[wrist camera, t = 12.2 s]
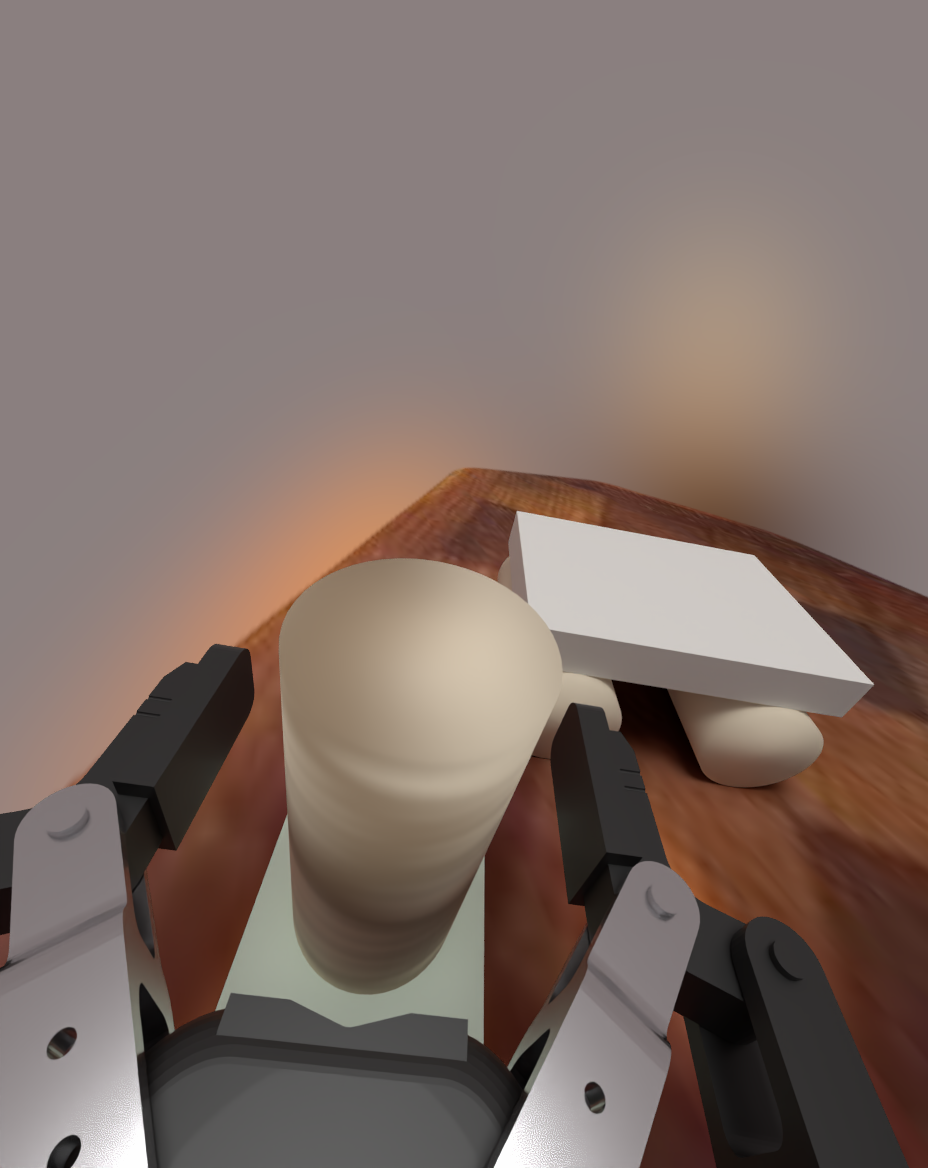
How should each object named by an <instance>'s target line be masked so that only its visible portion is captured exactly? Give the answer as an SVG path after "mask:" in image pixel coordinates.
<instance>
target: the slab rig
mask: <svg viewBox="0 0 928 1168" xmlns="http://www.w3.org/2000/svg"><path fill="white" fill-rule="evenodd" d="M509 555H510V556H509V557H508V558H507V559H506V560H505V561H504V563H503V564H502V566H501V568H500V571H499V574H498V583H500V584H501V585H503V586H505V587H506V588H508V589H509V590H511V591H512V592H514V593H515V594H517V595H518V596H519V597H521V598H522V599H523V600H524V601H525V602H527V603H528V604H529V605H530V606H531V607H532V608H533V609H534V610H535V611H536V612H537V613H538V614H539V616H540V617H541V618H542V619H543V621H544V622H545V623H546V625H547V626H548V628H549V629H550V631H551V633H552V634H553V636H554V639H555V641H556V643H557V645H558V648H559V652H560V655H561V659H562V669H563V675H562V685H561V689H560V692H559V696H558V699H557V701H556V703H555V705H554V707H553V709H552V712H551V714H550V716H549V718H548V720H547V722H546V725H545V727H544V729H543V731H542V733H541V735H540V737H539V740H538V742H537V744H536V746H535V748H534V750H533V752H532V755H533V756H536V757H540V758H546V759H550V758H551V747H552V742H553V739H554V737H555V734H556V732H557V730H558V728H559V726H560V724H561V722H562V719H563V717H564V715H565V713H566V711H567V709H568V707H569V705H570V704H571V703H579V704H585V705H591V706H598V707H602V708H603V710H604V712H605V715H606V718H607V722H608V726H609V730H612V731H619V729H620V726H621V721H622V715H621V710H620V707H619V704H618V700H617V697H616V694H615V690H614V687H613V684H612V680H618V681H624V682H630V683H636V684H642V685H648V686H655V687H661V688H667V690H668V692H669V695H670V697H671V699H672V702H673V704H674V706H675V709H676V711H677V714H678V716H679V718H680V721H681V723H682V725H683V728H684V730H685V732H686V735H687V737H688V739H689V742H690V744H691V746H692V749H693V751H694V753H695V756H696V758H697V760H698V763H699V765H700V767H701V770H702V771H703V773H704V774H705V775H706V776H707V777H708V778H709V779H711V780H713V781H714V782H717V783H719V784H722V785H726V786H732V787H758V786H764V785H769V784H773V783H777V782H780V781H783V780H785V779H788V778H790V777H792V776H794V775H796V774H798V773H800V772H802V771H803V770H805V769H806V768H807V767H809V766H810V765H811V764H812V763H813V762H814V761H815V760H816V759H817V758H818V756H819V755H820V753H821V751H822V748H823V737H822V734H821V733H820V731H819V729H818V728H817V727H816V725H815V724H814V722H813V721H812V720H811V718H810V717H809V716H808V714H807V713H806V711H807V712H813V713H819V714H825V715H831V716H837V717H843V716H844V715H845V714H846V713H847V712H848V711H849V710H850V709H851V708H852V707H853V706H854V705H855V704H856V703H857V702H858V701H859V700H860V699H861V698H862V697H863V696H864V695H865V694H866V693H867V692H868V690H869V689H870V688H871V687H872V686H873V685H874V684H873V683H872V682H871V681H870V680H869V679H868V678H867V677H866V675H865V674H864V673H863V672H862V671H861V670H860V669H859V668H858V667H857V666H856V665H855V664H854V663H853V661H852V660H851V659H850V658H849V657H848V656H847V655H846V654H845V653H844V652H843V651H842V650H841V648H840V647H839V646H838V645H837V644H836V643H835V642H834V641H833V640H832V639H831V638H830V637H829V636H828V634H827V633H826V632H825V631H824V630H823V629H822V628H821V627H820V626H819V625H818V624H817V623H816V622H815V620H814V619H813V618H812V617H811V616H810V615H809V614H808V613H807V612H806V611H805V610H804V609H803V608H802V606H801V605H800V604H799V603H798V602H797V601H796V600H795V599H794V598H793V597H792V596H791V595H790V594H789V592H788V591H787V590H786V589H785V588H784V587H783V586H782V585H781V584H780V583H779V582H778V581H777V580H776V578H775V577H774V576H773V575H772V574H771V573H770V572H769V571H768V570H767V569H766V568H765V567H764V566H763V564H762V563H761V562H760V561H759V560H758V559H757V558H756V557H755V556H754V555H749V554H744V553H738V552H733V551H728V550H722V549H717V548H712V547H706V546H701V545H696V544H690V543H685V542H680V541H674V540H669V539H664V538H658V537H653V536H648V535H642V534H637V533H632V532H626V531H621V530H616V529H610V528H605V527H600V526H594V525H589V524H584V523H578V522H573V521H568V520H562V519H557V518H552V517H546V516H541V515H536V514H530V513H525V512H520V511H517V513H516V516H515V520H514V524H513V527H512V531H511V535H510V538H509ZM611 679H612V680H611Z"/></svg>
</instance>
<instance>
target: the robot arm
mask: <svg viewBox="0 0 928 1168" xmlns="http://www.w3.org/2000/svg"><path fill="white" fill-rule="evenodd" d="M253 700H254V683H253V674H252V665H251V656H250V652H249V650H248V649H245V648H239V647H232V646H226V645H220V644H214V645H213V646H211V647H210V648H209V650H208V651H207V652H206V654H205V655H204V656H203V658H202V659H201V661H200V662H199V663H198V664H194V663H188V662H185V663H184V664H182V665H181V666H179V667H178V668H176V669H175V670H173V671H172V672H170V673H169V674H167V675H166V676H164V677H163V679H162V680H161V681H160V682H159V684H158V685H157V686H156V687H155V689H154V690H153V691H152V692H151V694H150V695H149V698H148V700H147V699H146V700H145V701H144V703H143V704H142V705H141V706H140V708H139V709H138V710H137V713H136V715H133V716H132V718H131V719H130V720H129V721H128V723H127V724H126V725H125V726H124V728H123V729H122V730H121V731H120V733H119V734H118V735H117V737H116V738H115V739H114V740H113V742H112V743H111V744H110V745H109V746H108V748H107V749H106V750H105V752H104V753H103V754H102V755H101V757H100V758H99V759H98V760H97V762H96V763H95V764H94V765H93V767H92V768H91V769H90V770H89V772H88V773H87V774H86V775H85V776H84V777H83V779H82V780H81V781H80V782H78V783H77V784H76V785H74V786H70V787H67V788H64V789H62V790H59V791H57V792H55V793H53V794H51V795H49V796H48V797H46V798H45V799H43V800H42V801H40V802H39V803H38V804H37V805H35V806H34V807H33V808H31V809H27V810H22V811H16V812H10V813H3V814H0V935H2V934H7V933H10V945H9V955H8V959H7V962H6V964H5V965H4V966H3V967H1V968H0V1168H639V1167H640V1163H641V1160H642V1157H643V1153H644V1150H645V1146H646V1143H647V1140H648V1136H649V1133H650V1130H651V1126H652V1123H653V1120H654V1116H655V1113H656V1109H657V1106H658V1103H659V1099H660V1096H661V1093H662V1089H663V1086H664V1083H665V1079H666V1076H667V1072H668V1069H669V1064H670V1058H671V1045H670V1043H669V1042H668V1041H667V1037H666V1036H667V1028H668V1025H669V1021H670V1018H671V1015H672V1012H673V1011H675V1012H677V1013H679V1014H680V1015H682V1016H684V1021H685V1025H686V1030H687V1035H688V1039H689V1044H690V1048H691V1053H692V1057H693V1062H694V1066H695V1071H696V1076H697V1080H698V1085H699V1089H700V1094H701V1098H702V1103H703V1108H704V1112H705V1117H706V1121H707V1126H708V1130H709V1135H710V1140H711V1144H712V1149H713V1153H714V1158H715V1162H716V1167H717V1168H909V1167H908V1164H907V1162H906V1160H905V1157H904V1155H903V1153H902V1151H901V1148H900V1146H899V1144H898V1141H897V1139H896V1137H895V1134H894V1132H893V1130H892V1128H891V1125H890V1123H889V1121H888V1118H887V1116H886V1114H885V1111H884V1109H883V1107H882V1105H881V1102H880V1100H879V1098H878V1095H877V1093H876V1091H875V1088H874V1086H873V1084H872V1082H871V1079H870V1077H869V1075H868V1072H867V1070H866V1068H865V1065H864V1063H863V1061H862V1059H861V1056H860V1054H859V1052H858V1049H857V1047H856V1045H855V1042H854V1040H853V1038H852V1036H851V1033H850V1031H849V1029H848V1026H847V1024H846V1022H845V1019H844V1017H843V1015H842V1012H841V1010H840V1008H839V1006H838V1003H837V1001H836V999H835V996H834V994H833V992H832V989H831V987H830V985H829V983H828V980H827V978H826V976H825V973H824V971H823V969H822V967H821V965H820V963H819V961H818V959H817V957H816V956H815V954H814V953H813V951H812V950H811V949H810V947H809V946H808V945H807V943H806V942H805V941H804V940H803V939H802V938H801V937H800V936H799V935H798V934H797V933H796V932H795V931H793V930H792V929H791V928H790V927H788V926H787V925H785V924H783V923H782V922H780V921H778V920H776V919H773V918H769V917H757V918H755V919H753V920H751V921H750V922H749V923H747V924H745V923H743V922H741V921H739V920H736V919H734V918H732V917H730V916H728V915H726V914H724V913H722V912H720V911H718V910H716V909H714V908H712V907H710V906H708V905H706V904H705V903H703V902H701V901H700V900H698V899H697V898H696V897H694V895H693V893H692V892H691V890H690V888H689V887H688V885H687V884H686V883H685V881H684V880H683V879H682V878H681V877H680V876H679V875H678V874H677V873H675V872H674V871H673V870H671V868H670V866H669V864H668V861H667V858H666V855H665V852H664V849H663V845H662V842H661V839H660V836H659V832H658V829H657V826H656V822H655V819H654V816H653V812H652V809H651V806H650V802H649V799H648V796H647V793H645V786H644V783H643V779H642V776H640V769H639V766H638V763H637V759H636V756H635V753H634V750H633V749H632V748H631V746H630V745H629V743H628V742H627V740H626V739H625V738H624V736H623V735H622V733H621V732H618V731H612V730H609V726H608V722H607V718H606V715H605V712H604V710H603V708H602V707H598V706H591V705H585V704H579V703H571V704H570V705H569V707H568V709H567V711H566V713H565V715H564V717H563V719H562V722H561V724H560V726H559V728H558V730H557V732H556V734H555V737H554V739H553V742H552V747H551V758H550V759H551V770H552V778H553V786H554V794H555V802H556V810H557V817H558V825H559V833H560V841H561V849H562V857H563V865H564V873H565V881H566V889H567V897H568V904H573V905H580V906H585V911H586V918H587V923H586V925H585V926H584V928H583V930H582V932H581V934H580V936H579V937H578V939H577V941H576V943H575V945H574V947H573V949H572V951H571V953H570V955H569V957H568V959H567V961H566V963H565V964H564V966H563V968H562V970H561V972H560V974H559V976H558V978H557V980H556V982H555V984H554V986H553V988H552V989H551V991H550V993H549V995H548V997H547V999H546V1001H545V1003H544V1005H543V1006H542V1008H541V1010H540V1012H539V1013H538V1015H537V1016H536V1018H535V1019H534V1021H533V1022H532V1024H531V1025H530V1027H529V1029H528V1030H527V1032H526V1034H525V1035H524V1037H523V1039H522V1041H521V1043H520V1044H519V1046H518V1048H517V1050H516V1052H515V1054H514V1056H513V1058H512V1059H511V1061H510V1063H509V1065H508V1067H506V1066H505V1065H504V1063H503V1062H502V1061H501V1060H500V1059H499V1058H498V1057H497V1056H496V1055H495V1054H494V1053H493V1052H492V1051H491V1050H490V1049H489V1048H487V1047H486V1046H485V1045H483V1044H482V1043H481V1042H479V1041H478V1040H476V1039H475V1038H473V1037H471V1036H469V1035H468V1019H460V1018H451V1017H442V1016H433V1015H424V1014H415V1013H409V1014H405V1015H401V1016H397V1017H393V1018H388V1019H384V1020H380V1021H376V1022H372V1023H367V1024H363V1025H359V1026H355V1027H345V1026H342V1025H340V1024H338V1023H336V1022H334V1021H332V1020H330V1019H328V1018H326V1017H324V1016H322V1015H320V1014H318V1013H316V1012H314V1011H312V1010H310V1009H308V1008H306V1007H304V1006H302V1005H300V1004H298V1003H296V1002H294V1001H292V1000H290V999H281V998H273V997H264V996H255V995H246V994H237V993H230V996H229V999H228V1002H227V1005H226V1008H225V1009H221V1010H217V1011H214V1012H211V1013H208V1014H206V1015H203V1016H200V1017H198V1018H196V1019H194V1020H192V1021H190V1022H188V1023H186V1024H185V1025H183V1026H181V1027H179V1028H178V1029H176V1030H175V1029H174V1023H173V1016H172V1010H171V1004H170V999H169V994H168V989H167V985H166V981H165V978H164V974H163V971H162V966H161V962H160V956H159V949H158V942H157V936H156V929H155V922H154V915H153V908H152V901H151V895H150V888H149V881H148V874H147V869H146V868H147V866H148V864H149V863H150V861H151V859H152V857H153V856H154V854H155V852H156V850H157V849H158V848H161V849H168V850H177V848H178V846H179V845H180V843H181V841H182V839H183V837H184V835H185V833H186V832H187V830H188V828H189V826H190V824H191V822H192V820H193V819H194V817H195V815H196V813H197V811H198V809H199V807H200V805H201V804H202V802H203V800H204V798H205V796H206V794H207V792H208V791H209V789H210V787H211V785H212V783H213V781H214V779H215V777H216V776H217V774H218V772H219V770H220V768H221V766H222V764H223V763H224V761H225V759H226V757H227V755H228V753H229V751H230V749H231V748H232V746H233V744H234V742H235V740H236V738H237V736H238V735H239V733H240V731H241V729H242V727H243V725H244V723H245V721H246V720H247V718H248V716H249V713H250V711H251V708H252V705H253Z"/></svg>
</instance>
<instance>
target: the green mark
mask: <svg viewBox="0 0 928 1168" xmlns="http://www.w3.org/2000/svg"><path fill="white" fill-rule="evenodd" d="M230 993H237V994H246V995H255V996H264V997H273V998H281V999H290V1000H292V1001H294V1002H296V1003H298V1004H300V1005H302V1006H304V1007H306V1008H308V1009H310V1010H312V1011H314V1012H316V1013H318V1014H320V1015H322V1016H324V1017H326V1018H328V1019H330V1020H332V1021H334V1022H336V1023H338V1024H340V1025H342V1026H345V1027H355V1026H359V1025H363V1024H367V1023H372V1022H376V1021H380V1020H384V1019H388V1018H393V1017H397V1016H401V1015H405V1014H409V1013H415V1014H424V1015H433V1016H442V1017H451V1018H460V1019H468V1035H469V1036H471V1037H473V1038H475V1039H476V1040H478V1041H479V1042H481V1043H482V1044H483V1043H484V858H483V860H482V862H481V864H480V866H479V868H478V871H477V873H476V875H475V877H474V879H473V881H472V884H471V886H470V888H469V890H468V892H467V894H466V896H465V899H464V901H463V903H462V905H461V907H460V909H459V911H458V914H457V916H456V918H455V920H454V922H453V924H452V926H451V929H450V931H449V933H448V935H447V937H446V939H445V941H444V943H443V945H442V947H441V949H440V951H439V952H438V954H437V955H436V957H435V958H434V960H433V961H432V962H431V963H430V964H429V965H428V967H427V968H426V969H425V970H424V971H423V972H421V973H420V974H419V975H418V976H417V977H416V978H414V979H413V980H411V981H410V982H408V983H407V984H405V985H403V986H401V987H399V988H397V989H395V990H391V991H388V992H385V993H380V994H373V995H363V994H355V993H350V992H346V991H343V990H341V989H338V988H336V987H334V986H333V985H331V984H329V983H328V982H326V981H325V980H324V979H322V978H321V977H320V976H319V975H318V974H317V973H316V972H315V971H314V970H313V969H312V967H311V966H310V965H309V964H308V962H307V960H306V959H305V957H304V955H303V954H302V951H301V949H300V946H299V944H298V941H297V937H296V934H295V929H294V922H293V908H292V889H291V871H290V852H289V833H288V814H287V817H286V819H285V822H284V825H283V827H282V830H281V833H280V836H279V838H278V841H277V844H276V847H275V849H274V852H273V855H272V857H271V860H270V863H269V866H268V868H267V871H266V874H265V877H264V879H263V882H262V885H261V887H260V890H259V893H258V896H257V898H256V901H255V904H254V907H253V909H252V912H251V915H250V917H249V920H248V923H247V926H246V928H245V931H244V934H243V937H242V939H241V942H240V945H239V948H238V950H237V953H236V956H235V958H234V961H233V964H232V967H231V969H230V972H229V975H228V978H227V980H226V983H225V986H224V988H223V991H222V994H221V997H220V999H219V1002H218V1005H217V1008H216V1010H215V1011H217V1010H221V1009H225V1008H226V1005H227V1002H228V999H229V996H230Z"/></svg>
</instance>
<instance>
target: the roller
mask: <svg viewBox="0 0 928 1168" xmlns="http://www.w3.org/2000/svg"><path fill="white" fill-rule="evenodd" d="M279 665H280V684H281V702H282V721H283V740H284V758H285V777H286V796H287V814H288V833H289V852H290V871H291V889H292V908H293V922H294V929H295V934H296V937H297V941H298V944H299V946H300V949H301V951H302V954H303V955H304V957H305V959H306V960H307V962H308V964H309V965H310V966H311V967H312V969H313V970H314V971H315V972H316V973H317V974H318V975H319V976H320V977H321V978H322V979H324V980H325V981H326V982H328V983H329V984H331V985H333V986H334V987H336V988H338V989H341V990H343V991H346V992H350V993H355V994H363V995H373V994H380V993H385V992H388V991H391V990H395V989H397V988H399V987H401V986H403V985H405V984H407V983H408V982H410V981H411V980H413V979H414V978H416V977H417V976H418V975H419V974H420V973H421V972H423V971H424V970H425V969H426V968H427V967H428V965H429V964H430V963H431V962H432V961H433V960H434V958H435V957H436V955H437V954H438V952H439V951H440V949H441V947H442V945H443V943H444V941H445V939H446V937H447V935H448V933H449V931H450V929H451V926H452V924H453V922H454V920H455V918H456V916H457V914H458V911H459V909H460V907H461V905H462V903H463V901H464V899H465V896H466V894H467V892H468V890H469V888H470V886H471V884H472V881H473V879H474V877H475V875H476V873H477V871H478V868H479V866H480V864H481V862H482V860H483V858H484V856H485V853H486V851H487V849H488V847H489V845H490V843H491V841H492V838H493V836H494V834H495V832H496V830H497V828H498V826H499V823H500V821H501V819H502V817H503V815H504V813H505V810H506V808H507V806H508V804H509V802H510V800H511V798H512V795H513V793H514V791H515V789H516V787H517V785H518V783H519V780H520V778H521V776H522V774H523V772H524V770H525V768H526V765H527V763H528V761H529V759H530V757H531V755H532V752H533V750H534V748H535V746H536V744H537V742H538V740H539V737H540V735H541V733H542V731H543V729H544V727H545V725H546V722H547V720H548V718H549V716H550V714H551V712H552V709H553V707H554V705H555V703H556V701H557V699H558V696H559V692H560V689H561V685H562V675H563V669H562V659H561V655H560V652H559V648H558V645H557V643H556V641H555V639H554V636H553V634H552V633H551V631H550V629H549V628H548V626H547V625H546V623H545V622H544V621H543V619H542V618H541V617H540V616H539V614H538V613H537V612H536V611H535V610H534V609H533V608H532V607H531V606H530V605H529V604H528V603H527V602H525V601H524V600H523V599H522V598H521V597H519V596H518V595H517V594H515V593H514V592H512V591H511V590H509V589H508V588H506V587H505V586H503V585H501V584H500V583H498V582H496V581H494V580H492V579H490V578H488V577H486V576H484V575H481V574H479V573H476V572H474V571H471V570H468V569H465V568H462V567H459V566H455V565H451V564H447V563H442V562H437V561H430V560H422V559H383V560H376V561H369V562H364V563H360V564H356V565H352V566H349V567H346V568H343V569H341V570H338V571H336V572H334V573H332V574H329V575H327V576H326V577H324V578H322V579H321V580H319V581H317V582H316V583H314V584H313V585H312V586H310V587H309V588H308V589H307V590H305V591H304V592H303V593H302V594H301V595H300V597H299V598H298V599H297V600H296V601H295V602H294V604H293V605H292V607H291V608H290V609H289V611H288V613H287V615H286V617H285V619H284V622H283V624H282V628H281V632H280V636H279Z"/></svg>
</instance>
